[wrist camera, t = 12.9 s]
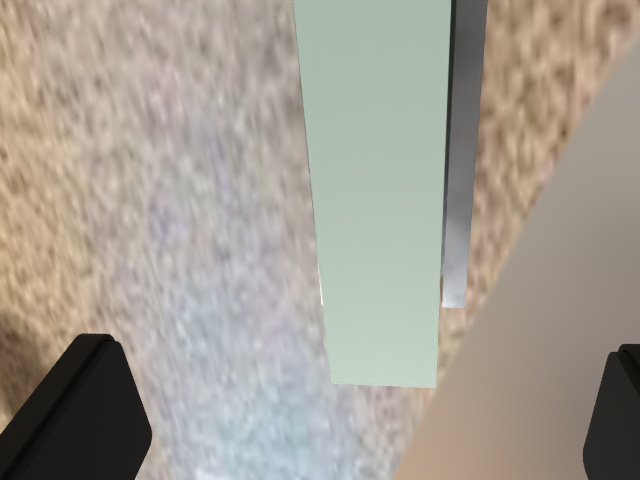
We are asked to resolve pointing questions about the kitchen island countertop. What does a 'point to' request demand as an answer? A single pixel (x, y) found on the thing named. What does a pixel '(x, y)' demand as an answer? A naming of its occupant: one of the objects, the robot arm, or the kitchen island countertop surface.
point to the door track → (458, 145)
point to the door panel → (377, 179)
